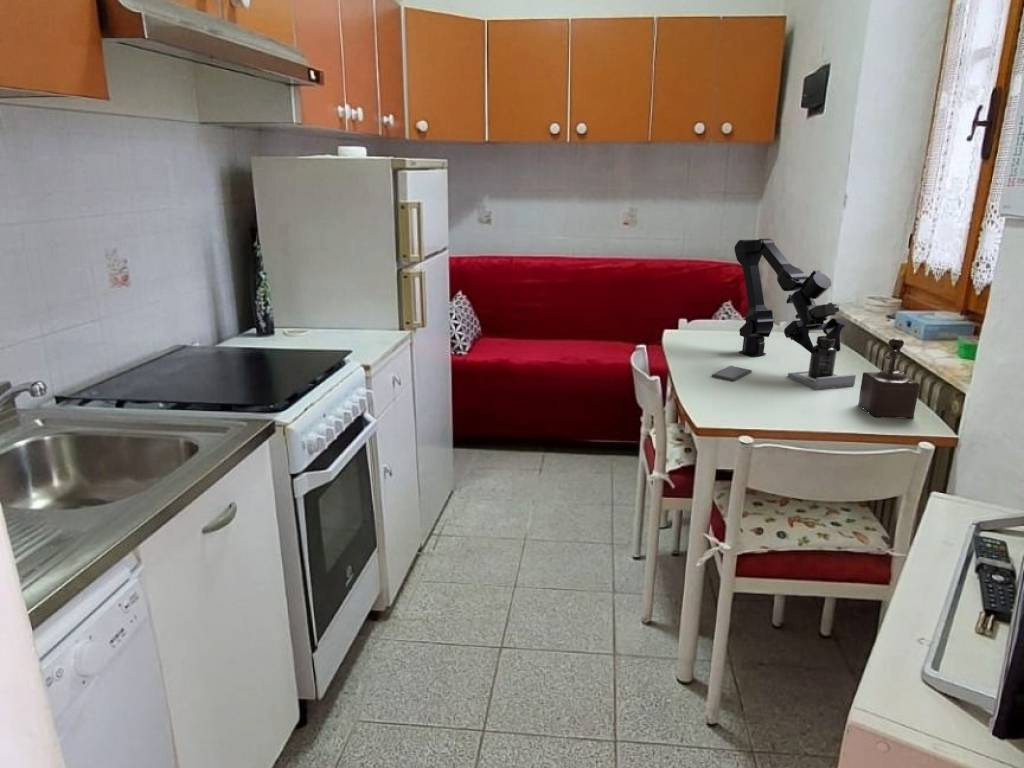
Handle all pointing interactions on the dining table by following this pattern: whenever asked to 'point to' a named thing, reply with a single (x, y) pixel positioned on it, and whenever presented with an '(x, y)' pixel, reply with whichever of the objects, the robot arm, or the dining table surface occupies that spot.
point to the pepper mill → (889, 389)
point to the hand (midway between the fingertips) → (826, 351)
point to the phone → (732, 373)
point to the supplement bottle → (823, 358)
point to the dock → (823, 380)
